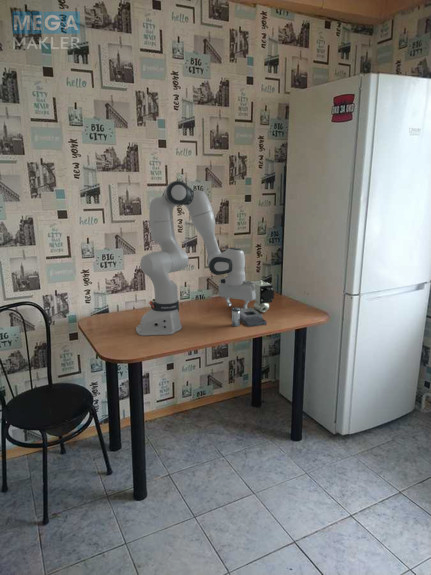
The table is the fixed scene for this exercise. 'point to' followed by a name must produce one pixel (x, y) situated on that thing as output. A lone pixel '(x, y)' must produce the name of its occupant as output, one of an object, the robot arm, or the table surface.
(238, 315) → the pin
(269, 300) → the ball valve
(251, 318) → the square-holed grey plate
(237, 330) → the table surface
